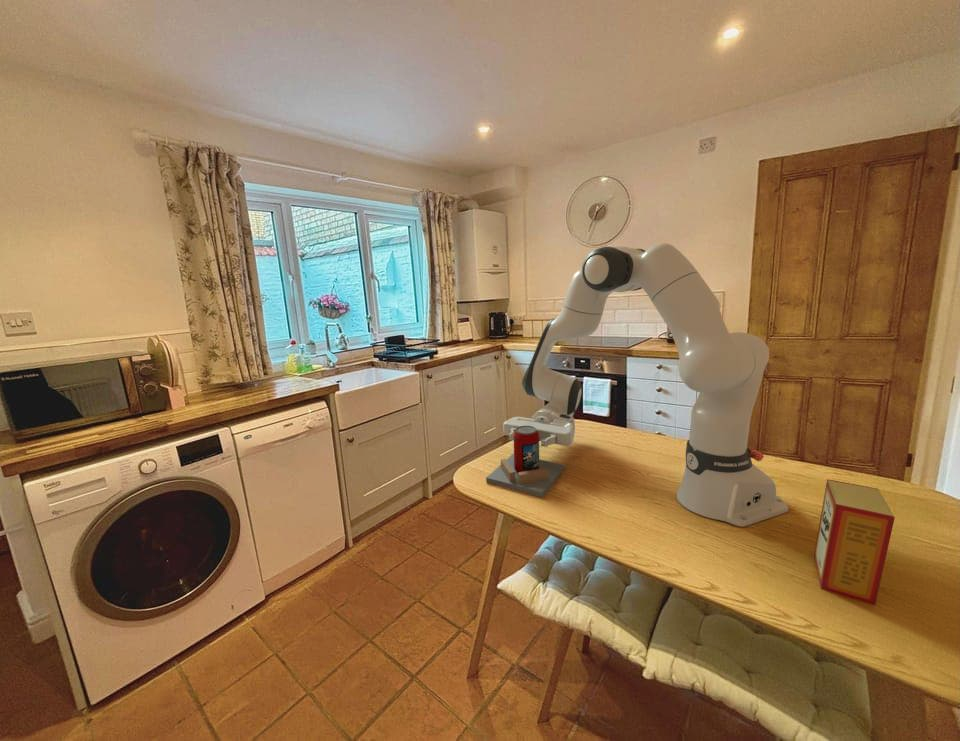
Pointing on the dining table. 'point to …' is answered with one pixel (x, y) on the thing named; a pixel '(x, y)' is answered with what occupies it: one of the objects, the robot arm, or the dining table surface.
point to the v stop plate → (528, 486)
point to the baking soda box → (852, 540)
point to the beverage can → (526, 449)
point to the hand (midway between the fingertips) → (526, 440)
